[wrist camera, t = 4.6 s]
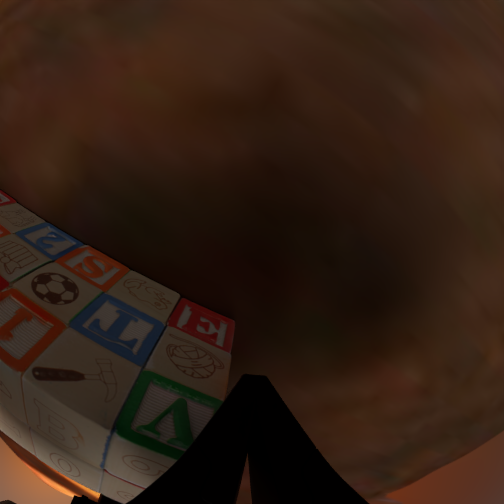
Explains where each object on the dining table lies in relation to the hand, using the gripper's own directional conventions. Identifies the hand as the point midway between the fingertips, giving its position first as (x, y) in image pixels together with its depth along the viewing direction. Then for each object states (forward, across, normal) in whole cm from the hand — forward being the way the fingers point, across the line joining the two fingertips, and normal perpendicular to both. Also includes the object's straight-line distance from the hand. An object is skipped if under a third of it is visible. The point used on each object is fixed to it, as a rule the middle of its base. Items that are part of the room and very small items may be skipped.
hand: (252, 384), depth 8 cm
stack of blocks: (+7, +12, 0) cm, 14 cm away
